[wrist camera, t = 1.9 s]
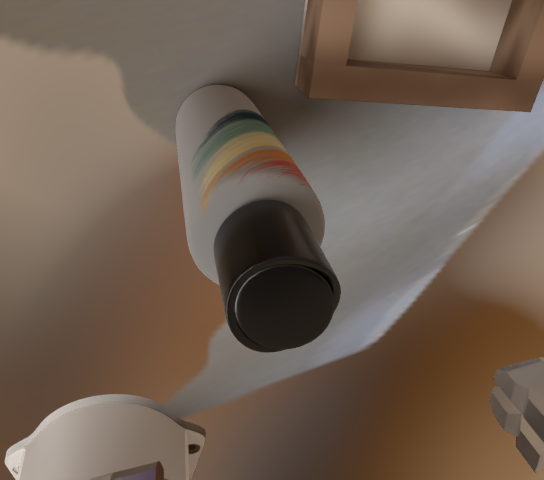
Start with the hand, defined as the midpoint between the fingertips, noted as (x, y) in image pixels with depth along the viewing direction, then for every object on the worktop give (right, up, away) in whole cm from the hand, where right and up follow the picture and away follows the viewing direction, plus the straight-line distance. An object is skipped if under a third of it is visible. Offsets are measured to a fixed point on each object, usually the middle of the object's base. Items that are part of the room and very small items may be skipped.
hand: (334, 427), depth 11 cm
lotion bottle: (-5, +12, +20) cm, 24 cm away
